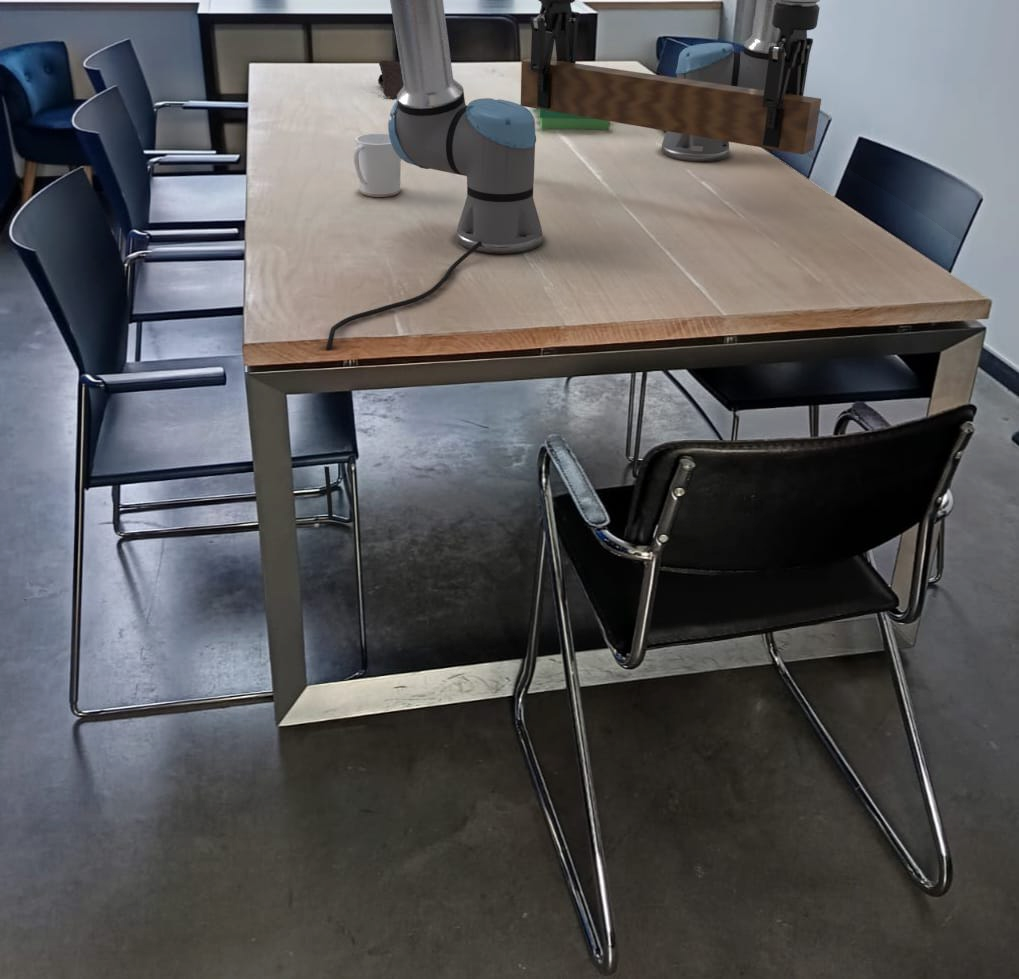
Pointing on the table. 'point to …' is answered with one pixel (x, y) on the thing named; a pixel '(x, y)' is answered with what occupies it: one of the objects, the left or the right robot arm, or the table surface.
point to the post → (672, 104)
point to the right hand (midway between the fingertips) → (777, 142)
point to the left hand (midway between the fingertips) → (551, 105)
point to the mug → (377, 165)
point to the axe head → (391, 78)
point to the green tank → (569, 122)
